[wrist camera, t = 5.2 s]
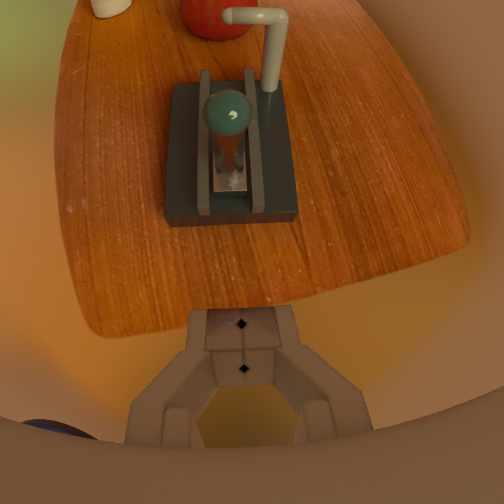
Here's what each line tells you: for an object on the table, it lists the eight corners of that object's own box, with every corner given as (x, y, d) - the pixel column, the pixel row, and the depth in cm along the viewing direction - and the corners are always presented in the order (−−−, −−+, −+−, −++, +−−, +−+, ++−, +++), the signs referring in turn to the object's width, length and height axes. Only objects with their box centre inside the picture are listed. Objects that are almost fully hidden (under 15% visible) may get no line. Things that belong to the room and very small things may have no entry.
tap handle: (212, 198, 28) (199, 124, 17) (212, 159, 29) (201, 76, 18) (248, 197, 28) (255, 122, 17) (246, 158, 29) (251, 74, 18)
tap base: (170, 227, 30) (126, 159, 17) (177, 100, 34) (156, 9, 20) (293, 221, 31) (331, 150, 17) (278, 96, 34) (294, 4, 21)
